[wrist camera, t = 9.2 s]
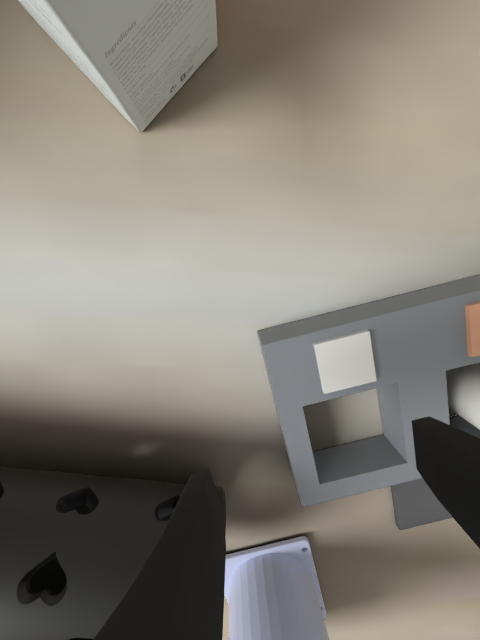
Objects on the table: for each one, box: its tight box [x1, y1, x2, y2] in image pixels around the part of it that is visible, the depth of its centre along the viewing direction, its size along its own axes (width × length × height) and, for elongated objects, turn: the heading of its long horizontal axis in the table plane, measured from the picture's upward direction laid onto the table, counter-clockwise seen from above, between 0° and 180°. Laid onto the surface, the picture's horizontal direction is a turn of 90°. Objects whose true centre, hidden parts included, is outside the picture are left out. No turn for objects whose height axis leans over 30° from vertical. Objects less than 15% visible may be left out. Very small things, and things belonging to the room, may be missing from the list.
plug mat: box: [391, 478, 452, 530], centre depth 23 cm, size 7×7×1 cm
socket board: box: [257, 275, 480, 507], centre depth 19 cm, size 12×18×3 cm, turn 104°
